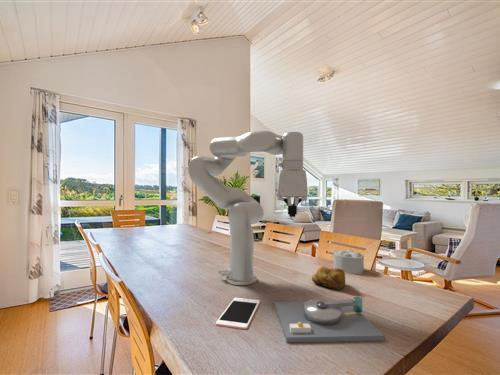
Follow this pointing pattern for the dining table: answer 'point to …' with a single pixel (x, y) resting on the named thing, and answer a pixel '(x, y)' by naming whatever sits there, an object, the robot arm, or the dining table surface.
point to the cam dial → (329, 310)
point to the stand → (324, 326)
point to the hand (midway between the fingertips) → (292, 216)
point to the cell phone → (238, 313)
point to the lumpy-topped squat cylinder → (349, 261)
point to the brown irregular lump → (329, 277)
